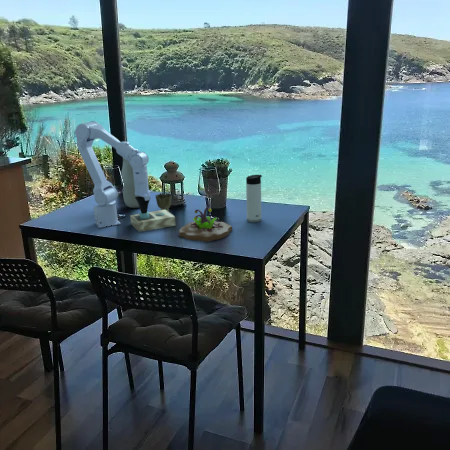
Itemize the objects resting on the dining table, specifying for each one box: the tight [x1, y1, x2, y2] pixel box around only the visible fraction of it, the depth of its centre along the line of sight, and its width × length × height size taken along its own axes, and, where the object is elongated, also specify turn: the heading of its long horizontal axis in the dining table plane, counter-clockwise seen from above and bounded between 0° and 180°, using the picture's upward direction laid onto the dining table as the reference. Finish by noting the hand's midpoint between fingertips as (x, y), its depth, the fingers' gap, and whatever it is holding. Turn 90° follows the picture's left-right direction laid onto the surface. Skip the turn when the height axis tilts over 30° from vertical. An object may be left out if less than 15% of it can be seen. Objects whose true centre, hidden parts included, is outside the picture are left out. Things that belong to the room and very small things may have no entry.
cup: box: [154, 192, 173, 212], centre depth 225 cm, size 8×7×8 cm
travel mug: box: [245, 174, 263, 223], centre depth 206 cm, size 6×7×20 cm
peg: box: [138, 211, 150, 219], centre depth 205 cm, size 4×4×4 cm
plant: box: [178, 207, 233, 242], centre depth 195 cm, size 20×20×11 cm
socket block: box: [129, 209, 176, 232], centre depth 208 cm, size 16×12×4 cm
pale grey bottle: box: [120, 157, 140, 209], centre depth 230 cm, size 10×10×28 cm
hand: (144, 213), depth 205 cm, fingers closed, pressing on peg
